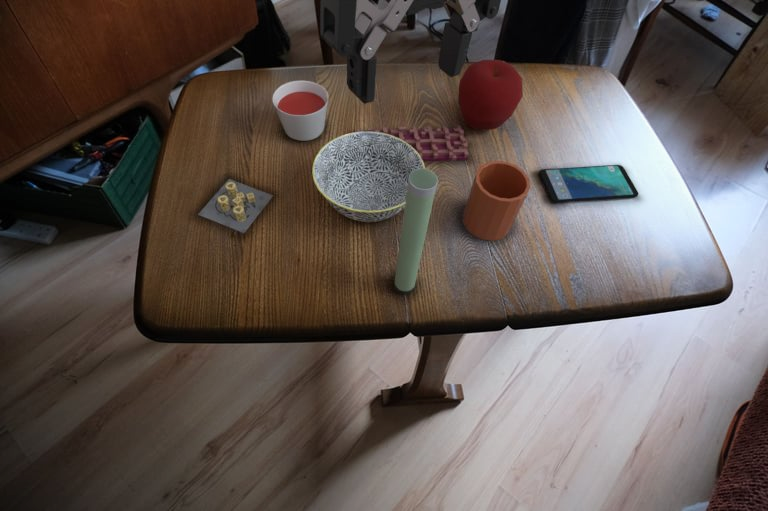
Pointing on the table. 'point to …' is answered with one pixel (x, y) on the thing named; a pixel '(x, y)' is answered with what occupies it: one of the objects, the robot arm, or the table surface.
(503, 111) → the apple
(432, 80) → the table surface
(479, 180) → the pen cup
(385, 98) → the table surface
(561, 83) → the table surface
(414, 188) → the green long cylinder
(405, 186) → the bowl
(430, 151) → the chocolate bar
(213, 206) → the gold tube cluster
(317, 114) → the candle
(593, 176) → the smartphone
